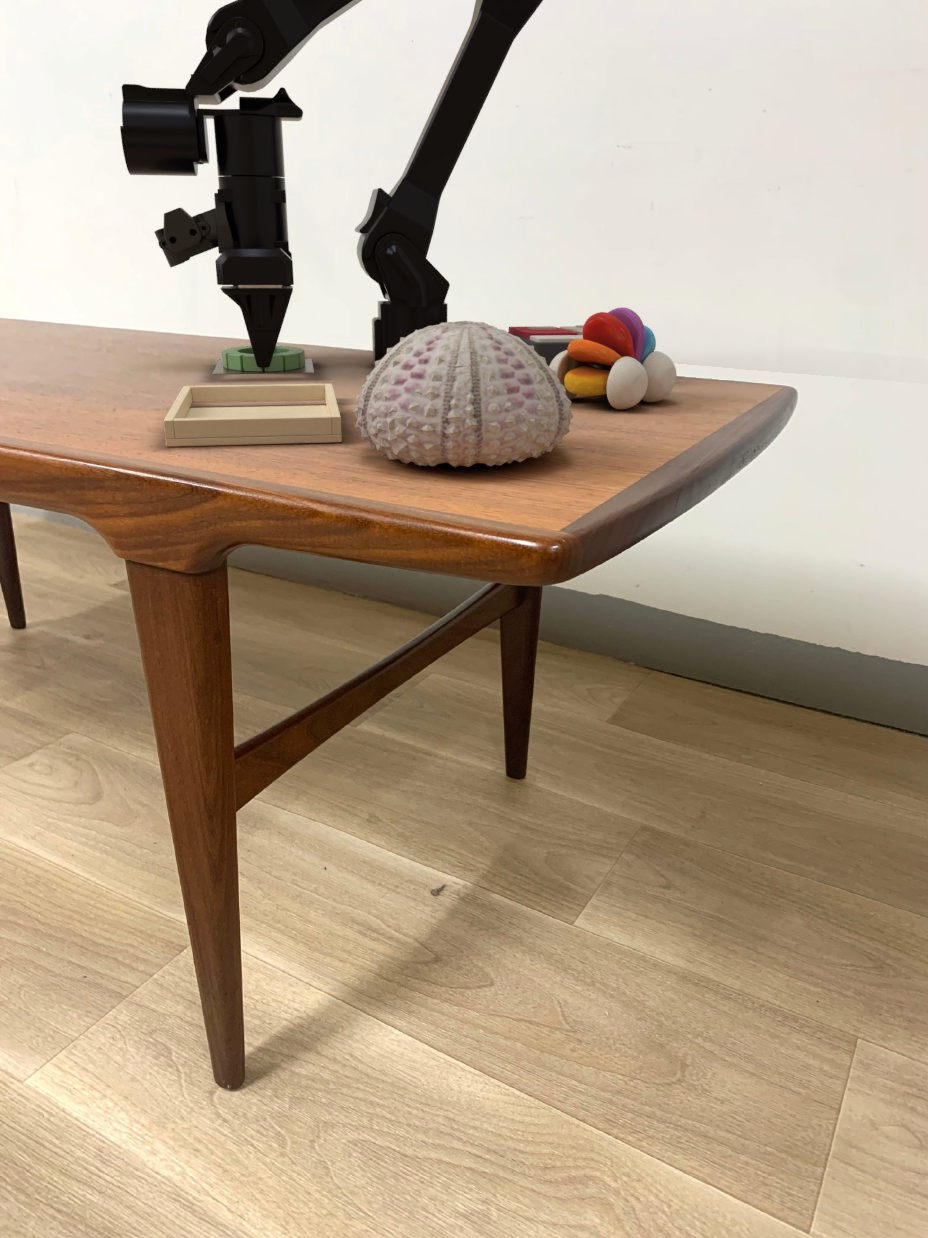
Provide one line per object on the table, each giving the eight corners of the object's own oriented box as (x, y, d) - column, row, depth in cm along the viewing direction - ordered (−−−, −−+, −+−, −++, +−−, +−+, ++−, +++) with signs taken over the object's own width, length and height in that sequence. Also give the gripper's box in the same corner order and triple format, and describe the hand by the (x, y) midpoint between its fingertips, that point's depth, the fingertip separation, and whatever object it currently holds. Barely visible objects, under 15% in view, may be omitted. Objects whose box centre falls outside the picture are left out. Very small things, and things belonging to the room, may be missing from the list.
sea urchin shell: (311, 456, 59) (304, 321, 56) (452, 423, 69) (453, 307, 66) (479, 495, 51) (482, 341, 48) (610, 452, 61) (620, 322, 58)
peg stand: (312, 364, 94) (308, 294, 92) (314, 379, 86) (310, 302, 84) (219, 365, 93) (212, 294, 90) (212, 380, 85) (205, 302, 82)
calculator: (607, 323, 98) (656, 332, 84) (605, 366, 99) (652, 382, 85) (502, 324, 96) (534, 333, 82) (501, 367, 98) (532, 384, 84)
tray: (333, 405, 75) (332, 383, 74) (341, 442, 63) (340, 416, 62) (185, 408, 73) (183, 385, 72) (166, 446, 61) (163, 420, 60)
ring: (304, 359, 93) (303, 344, 93) (306, 371, 87) (305, 355, 86) (225, 360, 92) (224, 345, 92) (220, 372, 85) (219, 356, 85)
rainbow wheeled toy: (531, 401, 77) (535, 307, 74) (601, 387, 84) (607, 300, 81) (619, 416, 72) (626, 316, 69) (686, 400, 78) (695, 308, 76)
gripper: (168, 178, 90) (185, 348, 96) (140, 171, 73) (163, 378, 80) (287, 180, 92) (296, 347, 98) (287, 174, 75) (298, 376, 81)
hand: (264, 360), depth 89 cm, fingers closed on ring, 7 cm apart
